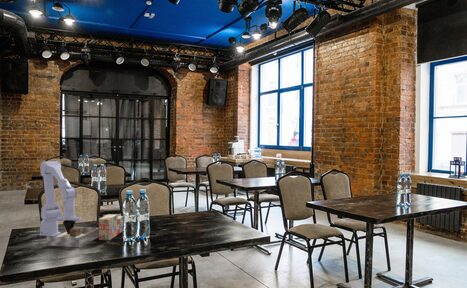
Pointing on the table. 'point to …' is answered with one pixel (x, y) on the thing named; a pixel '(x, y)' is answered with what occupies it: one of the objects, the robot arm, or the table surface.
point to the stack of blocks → (110, 226)
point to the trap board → (74, 238)
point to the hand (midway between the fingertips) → (69, 233)
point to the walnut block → (75, 232)
